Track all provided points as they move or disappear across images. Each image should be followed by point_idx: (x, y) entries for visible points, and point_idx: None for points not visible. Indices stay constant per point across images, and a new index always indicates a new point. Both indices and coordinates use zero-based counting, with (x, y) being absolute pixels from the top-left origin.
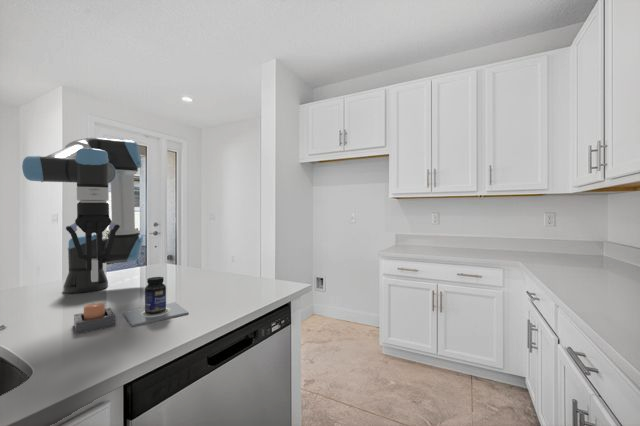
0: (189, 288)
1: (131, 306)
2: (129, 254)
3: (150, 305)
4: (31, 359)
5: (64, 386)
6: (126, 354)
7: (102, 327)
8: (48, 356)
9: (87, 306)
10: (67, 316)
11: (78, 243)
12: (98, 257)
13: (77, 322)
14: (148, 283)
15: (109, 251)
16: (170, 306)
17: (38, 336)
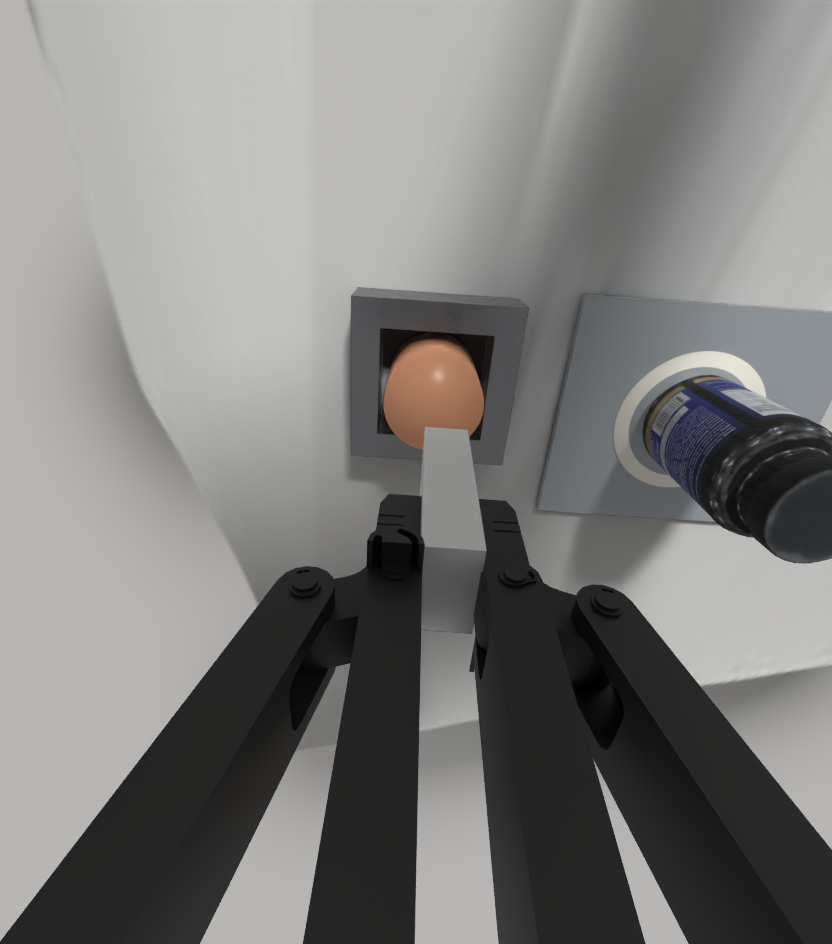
0: None
1: (690, 141)
2: None
3: (668, 473)
4: (242, 557)
5: (319, 718)
6: (448, 676)
7: None
8: (282, 567)
9: (401, 397)
10: (335, 49)
11: (221, 867)
12: (480, 649)
13: (356, 448)
14: (746, 511)
15: (613, 713)
16: (793, 383)
17: (229, 349)
